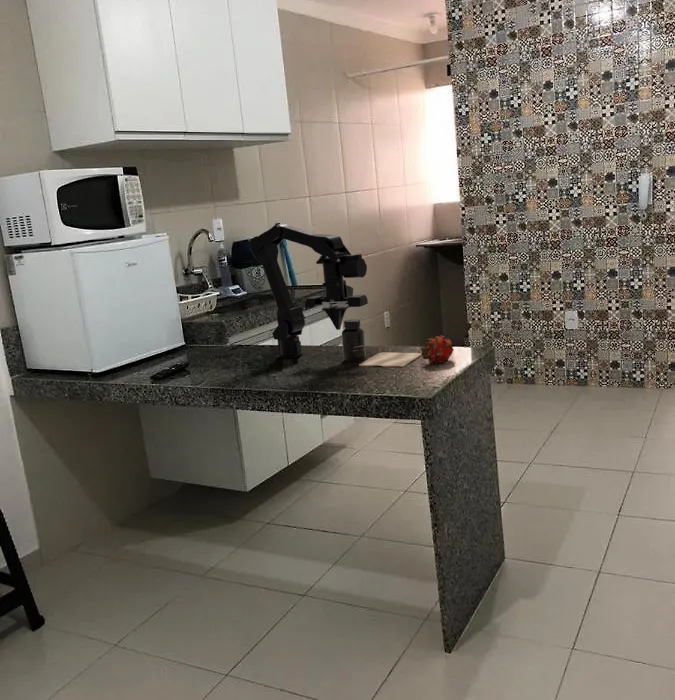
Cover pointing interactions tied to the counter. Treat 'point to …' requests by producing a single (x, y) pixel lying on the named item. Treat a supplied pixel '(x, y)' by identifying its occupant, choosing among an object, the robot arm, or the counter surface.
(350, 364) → the counter surface
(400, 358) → the cork mat
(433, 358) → the dragon fruit
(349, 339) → the supplement bottle
